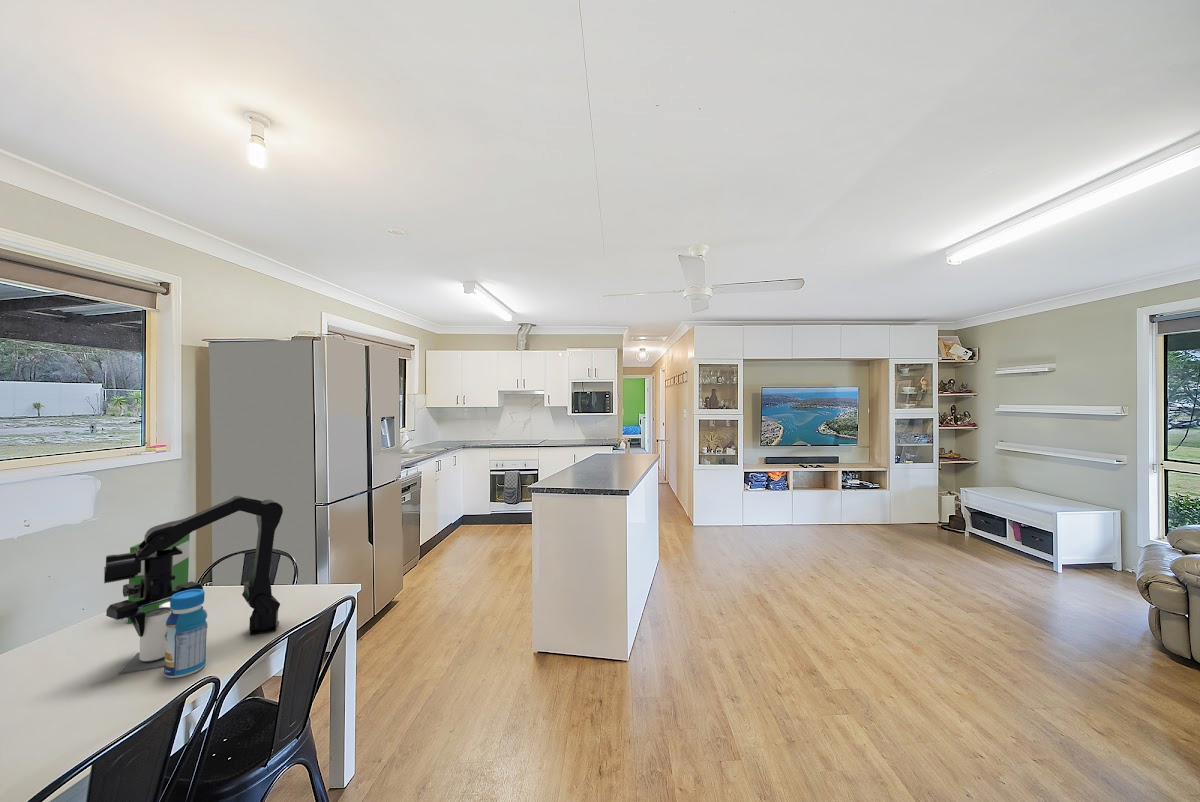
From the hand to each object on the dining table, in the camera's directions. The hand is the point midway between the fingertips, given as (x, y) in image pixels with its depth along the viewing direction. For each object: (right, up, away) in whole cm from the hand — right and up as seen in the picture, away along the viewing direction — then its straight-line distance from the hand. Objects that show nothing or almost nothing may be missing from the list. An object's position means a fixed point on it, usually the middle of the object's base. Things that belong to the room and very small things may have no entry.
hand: (156, 630), depth 127 cm
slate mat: (0, -8, 0) cm, 8 cm away
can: (0, -7, 0) cm, 7 cm away
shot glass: (-13, -8, +19) cm, 25 cm away
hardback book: (-27, -8, +29) cm, 40 cm away
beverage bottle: (+12, -8, -5) cm, 15 cm away
